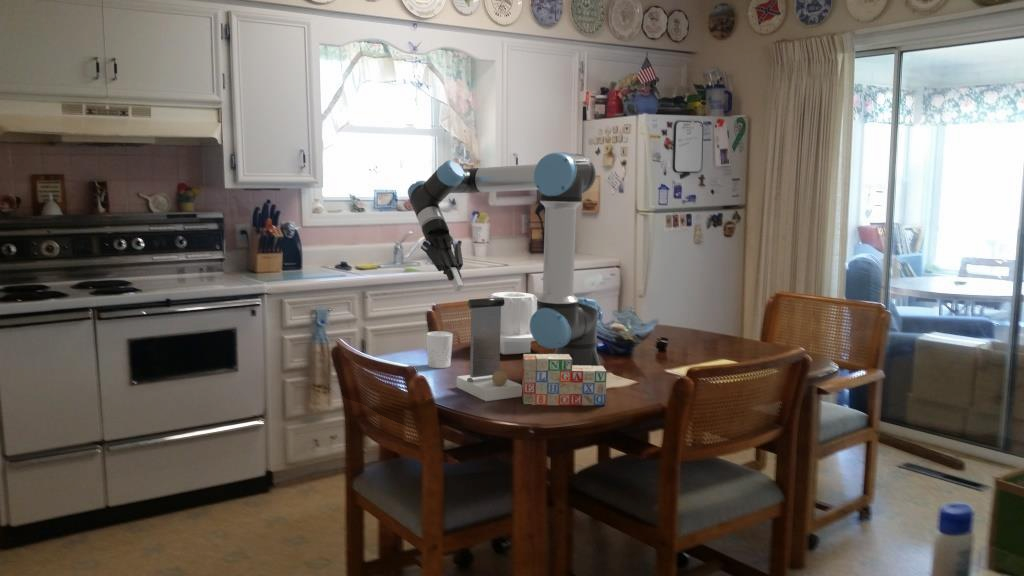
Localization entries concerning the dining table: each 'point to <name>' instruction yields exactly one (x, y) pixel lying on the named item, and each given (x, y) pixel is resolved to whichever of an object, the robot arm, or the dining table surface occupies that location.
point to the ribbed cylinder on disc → (516, 321)
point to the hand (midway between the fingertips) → (459, 288)
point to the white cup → (439, 349)
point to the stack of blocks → (561, 381)
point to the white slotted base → (490, 386)
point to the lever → (485, 336)
